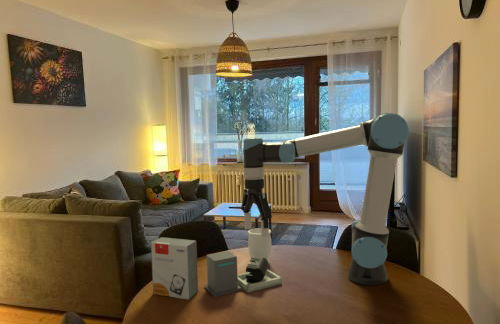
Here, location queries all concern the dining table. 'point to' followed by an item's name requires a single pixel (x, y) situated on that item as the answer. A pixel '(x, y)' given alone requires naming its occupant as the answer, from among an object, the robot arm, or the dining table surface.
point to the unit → (222, 273)
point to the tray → (268, 281)
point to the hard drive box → (174, 267)
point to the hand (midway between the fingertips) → (256, 232)
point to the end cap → (256, 270)
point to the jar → (259, 244)
